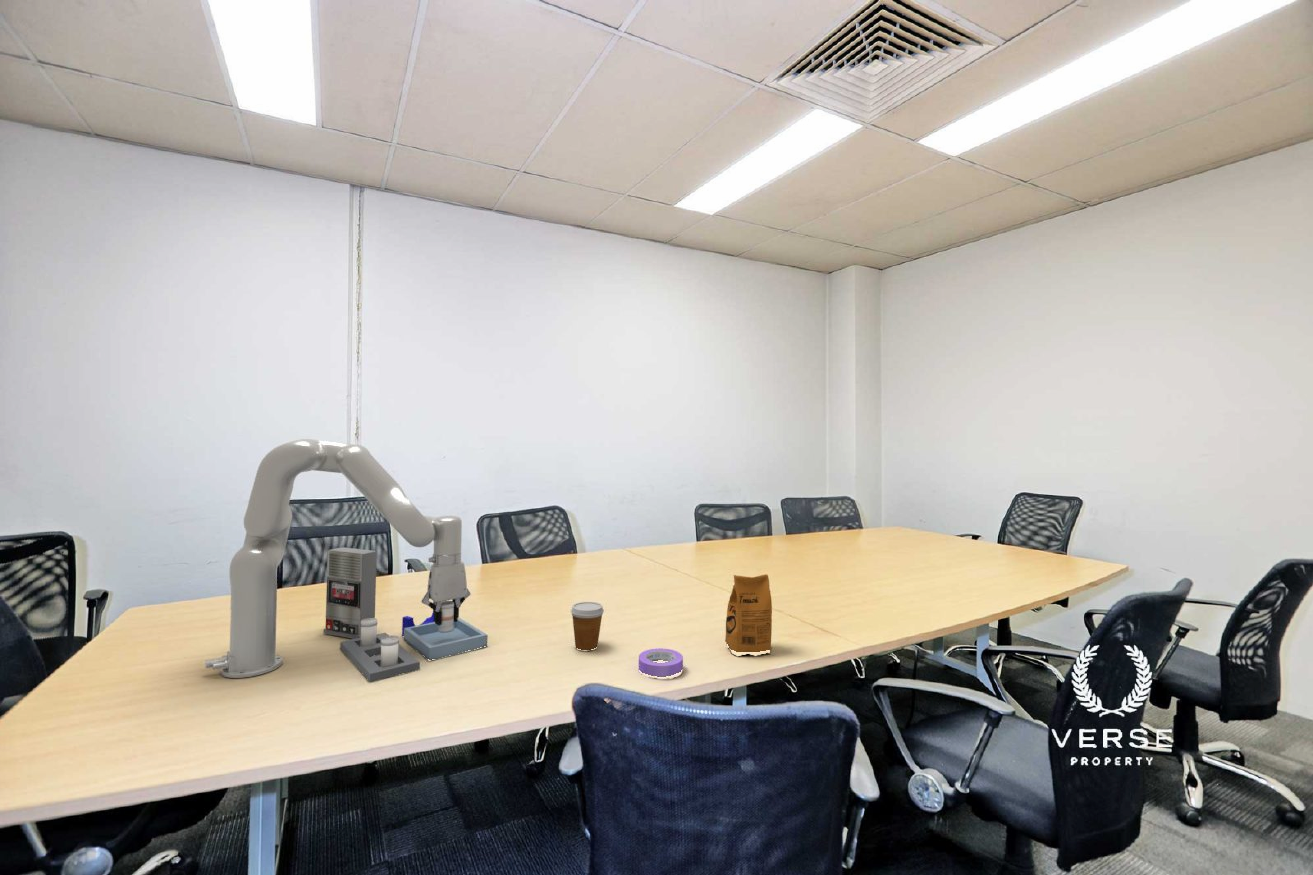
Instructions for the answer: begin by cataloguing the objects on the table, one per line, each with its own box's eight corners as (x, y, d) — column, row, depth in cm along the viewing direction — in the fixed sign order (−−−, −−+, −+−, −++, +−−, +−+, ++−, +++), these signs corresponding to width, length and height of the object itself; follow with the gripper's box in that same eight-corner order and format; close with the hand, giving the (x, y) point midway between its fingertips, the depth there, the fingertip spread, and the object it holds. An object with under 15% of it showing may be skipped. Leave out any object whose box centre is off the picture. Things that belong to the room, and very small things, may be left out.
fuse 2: (382, 674, 140) (383, 642, 140) (377, 669, 143) (378, 637, 143) (400, 670, 143) (401, 638, 143) (395, 665, 146) (395, 634, 146)
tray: (429, 661, 149) (429, 648, 149) (403, 640, 164) (403, 628, 164) (487, 647, 160) (487, 634, 160) (458, 628, 175) (458, 617, 175)
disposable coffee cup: (563, 649, 160) (564, 607, 160) (582, 639, 168) (583, 599, 168) (590, 656, 155) (591, 613, 155) (609, 645, 164) (610, 604, 164)
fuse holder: (369, 682, 136) (370, 674, 136) (340, 648, 156) (340, 641, 156) (419, 669, 144) (419, 661, 144) (385, 639, 164) (385, 632, 164)
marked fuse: (441, 634, 159) (442, 605, 159) (436, 630, 162) (436, 602, 162) (456, 630, 162) (456, 603, 162) (450, 627, 165) (450, 599, 165)
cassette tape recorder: (322, 634, 167) (324, 550, 167) (340, 628, 173) (342, 547, 173) (358, 641, 163) (360, 554, 163) (375, 634, 168) (377, 551, 168)
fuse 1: (362, 653, 154) (363, 623, 154) (357, 648, 157) (358, 620, 157) (378, 649, 156) (379, 620, 156) (374, 645, 160) (374, 617, 160)
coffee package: (722, 645, 166) (723, 571, 166) (761, 643, 169) (763, 570, 169) (732, 658, 157) (734, 579, 157) (774, 656, 159) (776, 578, 159)
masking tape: (644, 682, 140) (644, 667, 140) (633, 664, 151) (634, 649, 151) (688, 678, 143) (689, 663, 143) (675, 660, 155) (675, 646, 155)
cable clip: (433, 625, 178) (434, 606, 178) (442, 628, 175) (443, 609, 175) (398, 636, 168) (399, 616, 168) (408, 639, 165) (408, 619, 165)
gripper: (422, 565, 154) (421, 632, 154) (480, 557, 165) (479, 619, 165) (412, 561, 159) (411, 625, 159) (469, 553, 171) (468, 613, 171)
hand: (446, 621), depth 162 cm, fingers closed on marked fuse, 4 cm apart
